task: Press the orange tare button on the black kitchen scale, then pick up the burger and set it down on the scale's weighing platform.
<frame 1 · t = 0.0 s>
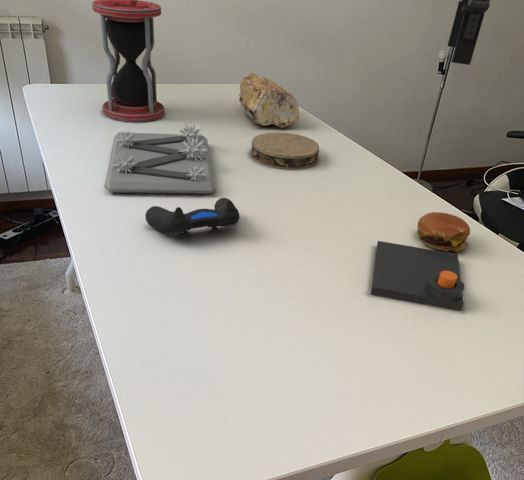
hand: (457, 54, 88), 30 cm above the table, tool pointing down, fingers open, 13 cm apart
gaming controller: (196, 230, 99), on the table
scale: (415, 276, 92), on the table
hourglass: (134, 113, 148), on the table
tare button: (447, 279, 85), point 4 cm above the table, slide at 0.1 cm
petrified wood: (265, 119, 153), on the table
wood log slice: (284, 157, 131), on the table
burger: (440, 242, 103), on the table
decorative plate: (161, 168, 120), on the table
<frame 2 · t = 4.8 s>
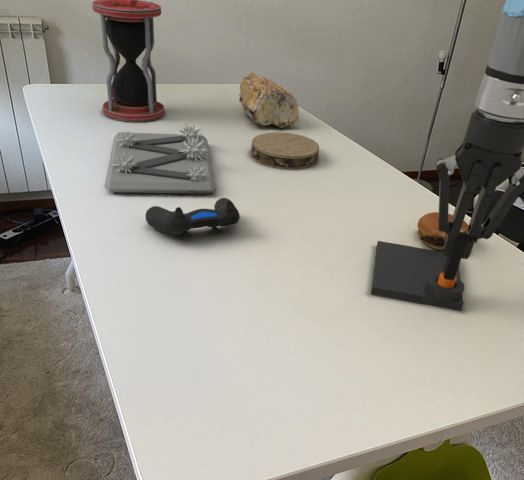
hand: (448, 274, 84), 4 cm above the table, tool pointing down, fingers closed
tare button: (446, 280, 85), point 3 cm above the table, slide at 0.0 cm, touching gripper
everything else where it was.
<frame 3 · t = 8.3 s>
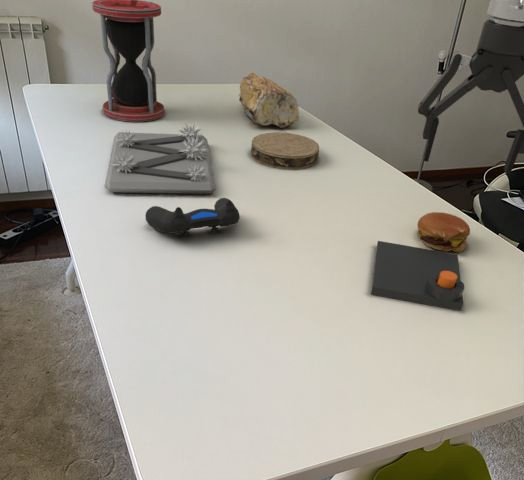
hand: (465, 165, 94), 14 cm above the table, tool pointing down, fingers open, 13 cm apart
tare button: (447, 279, 85), point 4 cm above the table, slide at 0.1 cm
everything else where it was.
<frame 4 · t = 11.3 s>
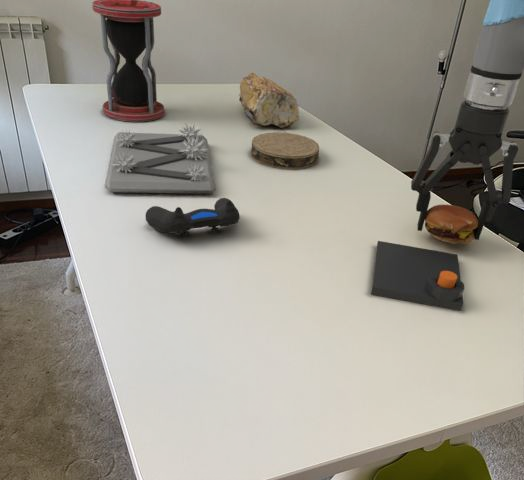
hand: (447, 231, 101), 2 cm above the table, tool pointing down, fingers closed on burger, 9 cm apart
burger: (447, 235, 101), point 2 cm above the table, touching gripper
everything else where it was.
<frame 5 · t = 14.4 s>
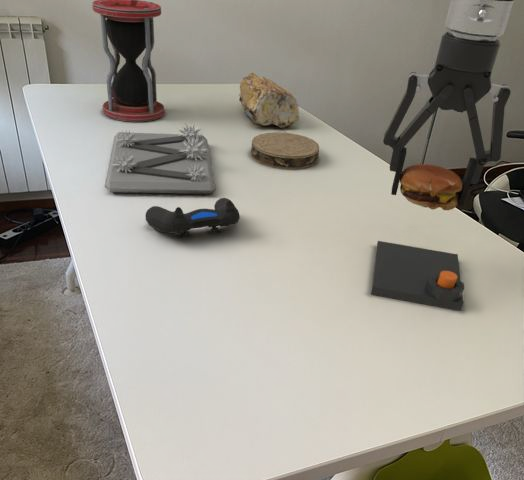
hand: (426, 196, 86), 13 cm above the table, tool pointing down, fingers closed on burger, 9 cm apart
burger: (427, 200, 86), point 12 cm above the table, touching gripper
everything else where it was.
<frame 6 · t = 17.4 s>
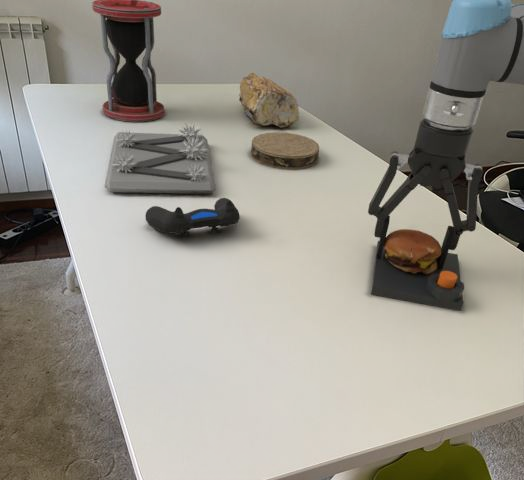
hand: (409, 259, 93), 2 cm above the table, tool pointing down, fingers closed on burger, 9 cm apart
burger: (409, 263, 93), point 1 cm above the table, touching gripper, scale
everything else where it was.
when the fingers open (2 cm above the table, at t = 17.7 s): burger stays where it is, resting on scale.
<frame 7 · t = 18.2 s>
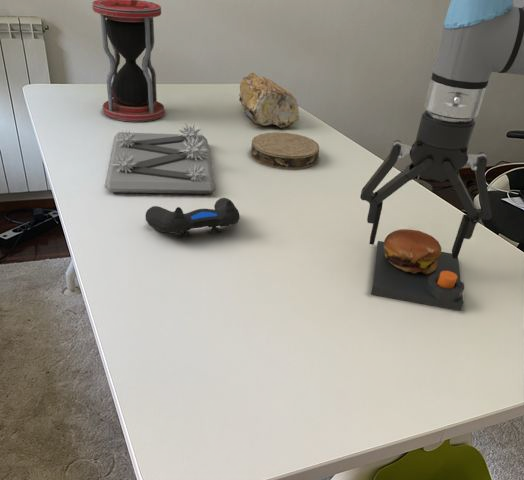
hand: (412, 247, 91), 4 cm above the table, tool pointing down, fingers open, 13 cm apart
burger: (409, 263, 93), point 1 cm above the table, touching scale
everything else where it was.
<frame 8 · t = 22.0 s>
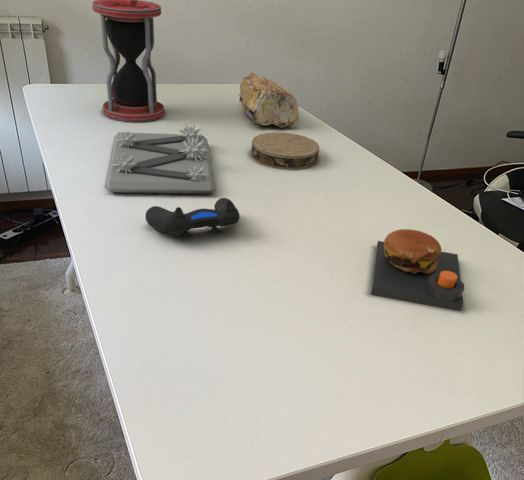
nothing on the table moved.
at the end: tare button pushed in 0.8 cm at the most during the clip, back to where it started at the end; burger touching scale; burger inside the target area on the scale (0.1 cm from its centre), point 1.2 cm above the scale's base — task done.
